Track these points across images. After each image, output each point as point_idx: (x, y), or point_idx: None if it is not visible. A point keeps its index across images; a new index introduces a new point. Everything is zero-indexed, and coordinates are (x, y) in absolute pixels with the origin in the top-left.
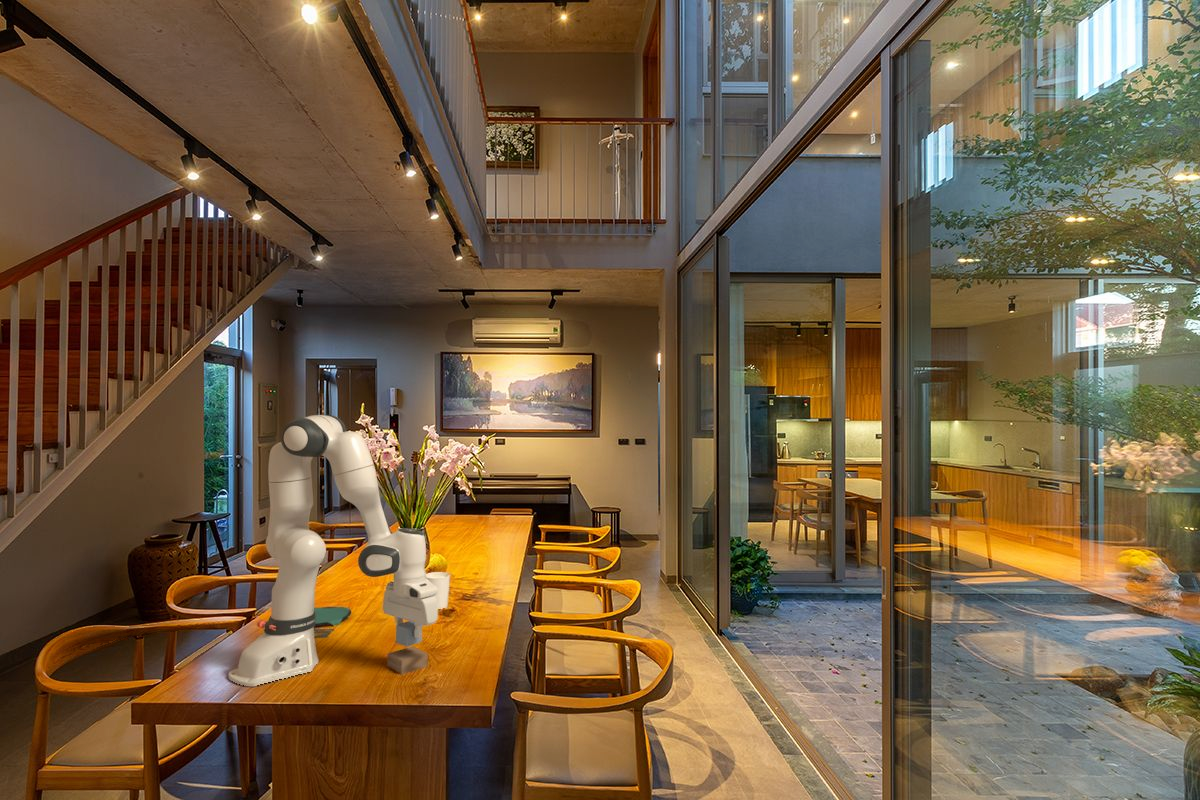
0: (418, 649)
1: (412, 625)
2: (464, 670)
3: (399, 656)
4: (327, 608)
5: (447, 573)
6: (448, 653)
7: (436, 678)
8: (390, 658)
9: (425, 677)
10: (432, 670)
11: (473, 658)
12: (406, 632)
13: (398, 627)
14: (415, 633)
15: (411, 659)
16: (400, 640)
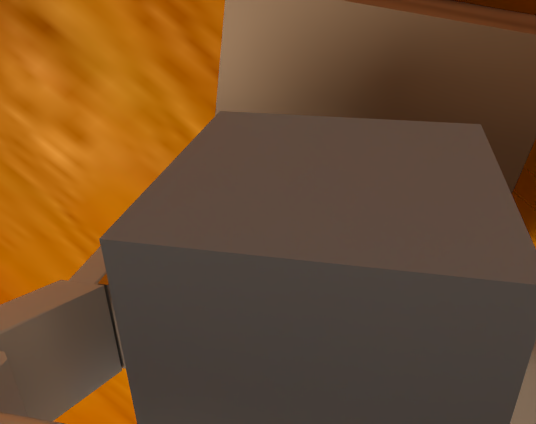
0: None
1: (194, 398)
2: (21, 266)
3: (360, 55)
4: None
5: None
6: None
7: (8, 87)
8: (495, 21)
9: (72, 52)
10: (151, 170)
11: None
12: (167, 198)
13: (442, 253)
14: (83, 268)
15: (221, 95)
16: (366, 139)
